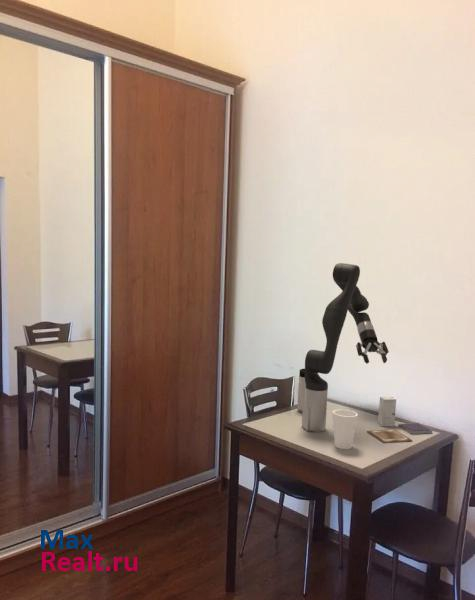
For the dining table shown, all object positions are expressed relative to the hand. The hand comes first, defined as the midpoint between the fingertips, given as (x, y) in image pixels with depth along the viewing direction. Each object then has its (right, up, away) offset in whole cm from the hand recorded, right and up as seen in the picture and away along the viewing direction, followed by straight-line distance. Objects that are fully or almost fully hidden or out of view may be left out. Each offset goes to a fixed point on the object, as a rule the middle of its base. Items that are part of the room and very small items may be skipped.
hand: (376, 362), depth 233 cm
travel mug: (-32, -24, +7) cm, 41 cm away
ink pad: (+13, -27, -14) cm, 33 cm away
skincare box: (+2, -27, -8) cm, 28 cm away
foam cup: (-23, -28, -37) cm, 51 cm away
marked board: (-1, -27, -24) cm, 36 cm away
